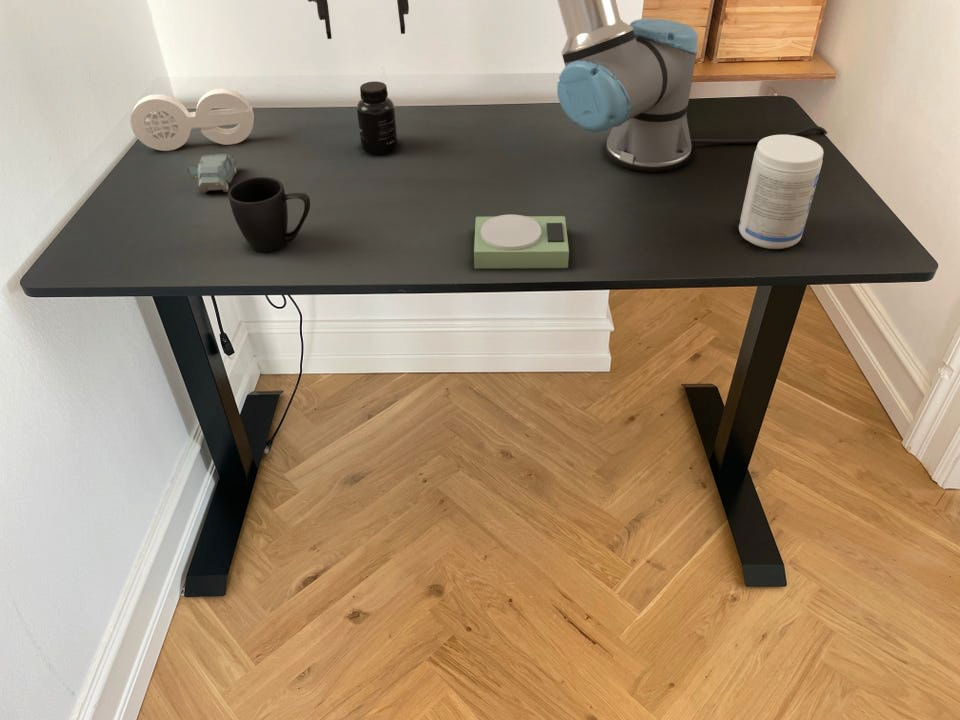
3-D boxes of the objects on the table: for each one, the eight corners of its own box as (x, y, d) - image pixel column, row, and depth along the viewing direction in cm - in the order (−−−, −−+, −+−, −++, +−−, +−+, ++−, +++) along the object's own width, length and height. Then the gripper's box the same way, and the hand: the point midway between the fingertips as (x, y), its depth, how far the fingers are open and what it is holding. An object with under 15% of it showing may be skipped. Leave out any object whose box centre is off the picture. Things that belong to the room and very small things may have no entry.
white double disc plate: (140, 153, 148) (123, 102, 142) (141, 148, 150) (125, 97, 143) (258, 141, 151) (246, 90, 144) (258, 136, 153) (247, 86, 146)
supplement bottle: (354, 149, 148) (346, 86, 140) (381, 136, 152) (374, 75, 144) (378, 160, 144) (371, 97, 136) (405, 147, 148) (400, 85, 140)
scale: (564, 232, 124) (565, 212, 122) (567, 268, 117) (569, 248, 114) (476, 232, 125) (475, 213, 122) (474, 268, 117) (473, 248, 115)
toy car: (238, 169, 143) (232, 144, 139) (226, 196, 135) (219, 170, 132) (203, 169, 143) (196, 145, 139) (189, 197, 135) (181, 171, 132)
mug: (309, 260, 120) (298, 206, 113) (234, 256, 121) (219, 202, 115) (323, 232, 126) (314, 178, 120) (252, 228, 127) (239, 175, 121)
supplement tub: (812, 247, 120) (839, 158, 110) (755, 255, 118) (778, 167, 109) (780, 215, 127) (803, 129, 117) (726, 223, 126) (745, 137, 116)
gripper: (419, -69, 150) (432, 37, 149) (288, -62, 148) (300, 47, 146) (420, -95, 143) (434, 18, 142) (282, -87, 140) (294, 27, 139)
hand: (366, 33), depth 144 cm, fingers open, 13 cm apart
